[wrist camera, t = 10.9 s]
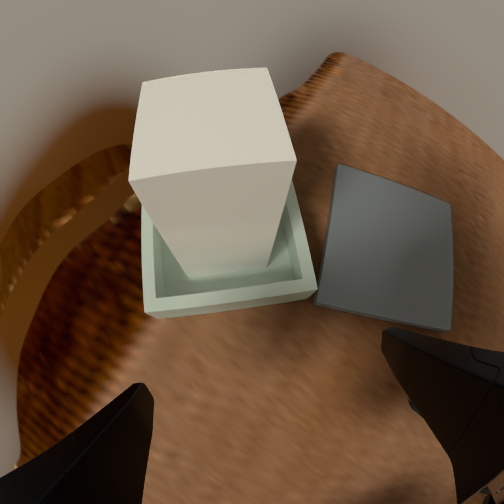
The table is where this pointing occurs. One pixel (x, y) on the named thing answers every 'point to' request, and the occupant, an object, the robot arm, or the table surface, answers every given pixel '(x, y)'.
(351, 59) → the table surface
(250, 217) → the white block
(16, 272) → the table surface
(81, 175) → the table surface
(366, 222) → the coaster
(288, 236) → the tray
